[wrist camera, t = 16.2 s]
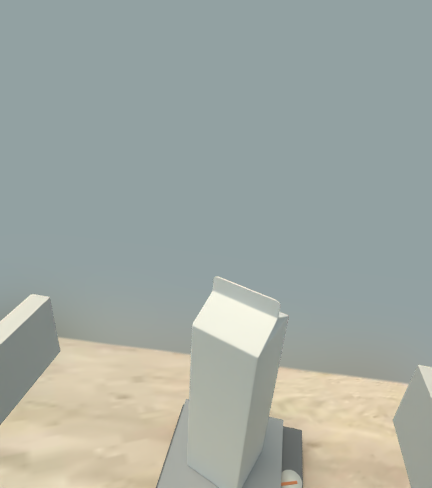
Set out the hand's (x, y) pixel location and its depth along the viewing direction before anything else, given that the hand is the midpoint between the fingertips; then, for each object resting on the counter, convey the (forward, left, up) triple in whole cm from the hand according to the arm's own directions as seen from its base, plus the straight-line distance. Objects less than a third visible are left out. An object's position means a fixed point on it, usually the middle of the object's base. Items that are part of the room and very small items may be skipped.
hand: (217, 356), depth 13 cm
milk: (0, -14, -28) cm, 31 cm away
